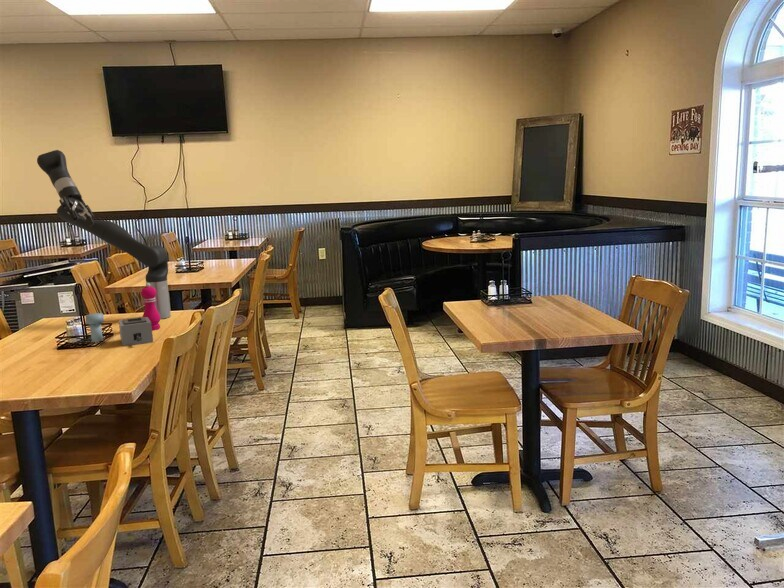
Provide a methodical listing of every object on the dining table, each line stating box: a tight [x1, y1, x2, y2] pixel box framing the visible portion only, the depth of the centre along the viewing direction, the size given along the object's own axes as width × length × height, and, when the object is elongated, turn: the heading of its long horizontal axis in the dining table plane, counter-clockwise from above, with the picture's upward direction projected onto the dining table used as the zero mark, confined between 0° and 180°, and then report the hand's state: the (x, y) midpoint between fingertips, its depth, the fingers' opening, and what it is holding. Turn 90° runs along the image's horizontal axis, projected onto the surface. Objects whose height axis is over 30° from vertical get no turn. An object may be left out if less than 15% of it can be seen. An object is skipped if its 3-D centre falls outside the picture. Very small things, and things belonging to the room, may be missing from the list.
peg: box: [84, 312, 105, 343], centre depth 249 cm, size 6×6×11 cm
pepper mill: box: [140, 283, 161, 331], centre depth 268 cm, size 7×7×20 cm
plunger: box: [134, 333, 141, 341], centre depth 245 cm, size 8×2×2 cm, turn 27°
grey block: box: [118, 316, 154, 347], centre depth 250 cm, size 11×11×9 cm
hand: (84, 222), depth 251 cm, fingers open, 8 cm apart
